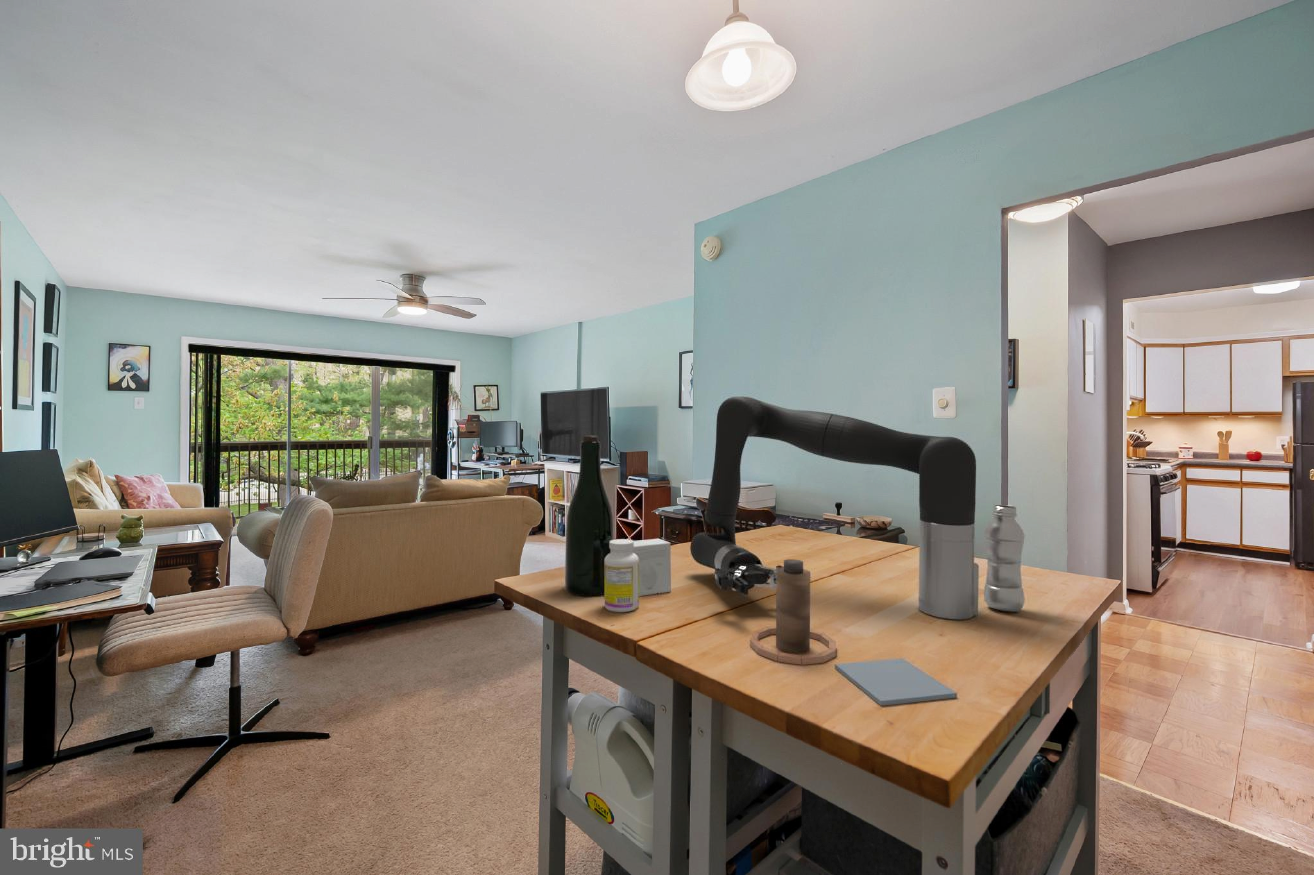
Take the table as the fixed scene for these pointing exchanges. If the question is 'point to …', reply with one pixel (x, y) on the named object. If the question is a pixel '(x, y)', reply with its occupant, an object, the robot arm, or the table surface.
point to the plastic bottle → (1004, 560)
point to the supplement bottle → (621, 577)
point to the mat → (894, 681)
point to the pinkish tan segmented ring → (793, 658)
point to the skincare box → (653, 566)
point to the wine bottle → (588, 525)
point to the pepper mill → (793, 607)
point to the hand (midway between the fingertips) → (769, 588)
